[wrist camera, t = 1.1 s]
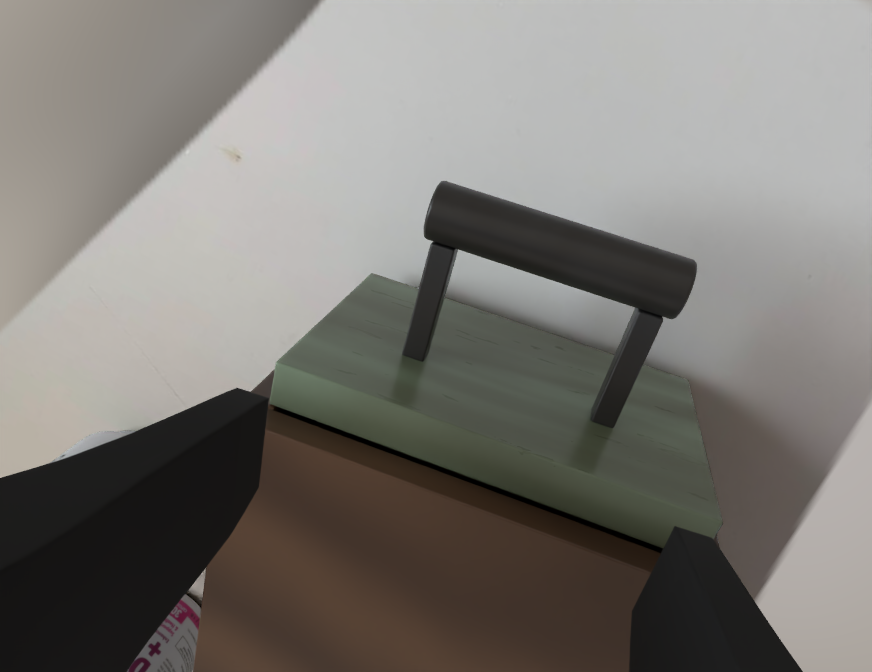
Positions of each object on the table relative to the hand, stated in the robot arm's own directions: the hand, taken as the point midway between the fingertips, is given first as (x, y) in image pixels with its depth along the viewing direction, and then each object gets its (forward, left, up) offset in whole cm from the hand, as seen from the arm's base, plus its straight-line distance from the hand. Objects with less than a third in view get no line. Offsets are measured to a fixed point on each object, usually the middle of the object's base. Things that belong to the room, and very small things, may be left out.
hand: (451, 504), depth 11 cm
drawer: (0, +5, -10) cm, 11 cm away
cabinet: (0, +9, -11) cm, 14 cm away
